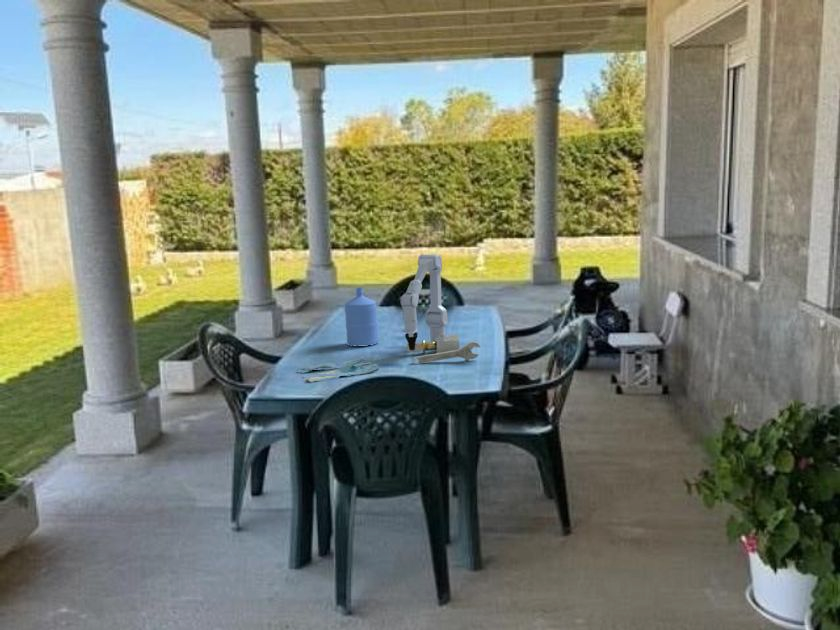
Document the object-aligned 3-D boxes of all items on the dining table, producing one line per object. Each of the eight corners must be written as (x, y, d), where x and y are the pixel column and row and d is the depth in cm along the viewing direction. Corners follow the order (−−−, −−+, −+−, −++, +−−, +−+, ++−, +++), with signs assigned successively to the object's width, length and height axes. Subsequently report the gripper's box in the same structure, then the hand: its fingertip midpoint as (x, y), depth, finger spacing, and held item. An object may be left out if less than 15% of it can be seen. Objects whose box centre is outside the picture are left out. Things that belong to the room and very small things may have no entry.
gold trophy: (407, 352, 353) (407, 339, 352) (438, 351, 353) (437, 337, 352) (407, 355, 347) (406, 341, 346) (438, 354, 347) (437, 340, 345)
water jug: (374, 347, 370) (370, 290, 366) (343, 347, 374) (339, 290, 369) (382, 340, 386) (378, 285, 381) (352, 341, 389) (348, 286, 384)
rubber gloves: (292, 370, 334) (291, 356, 333) (363, 360, 346) (362, 346, 345) (309, 384, 309) (308, 369, 308) (385, 372, 321) (384, 357, 320)
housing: (436, 350, 357) (435, 335, 355) (458, 348, 357) (457, 334, 355) (437, 356, 343) (436, 341, 342) (459, 355, 343) (458, 340, 342)
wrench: (414, 369, 334) (482, 358, 333) (414, 370, 332) (482, 359, 331) (410, 352, 332) (479, 340, 332) (410, 353, 331) (479, 341, 330)
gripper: (402, 317, 354) (403, 346, 357) (401, 323, 340) (403, 353, 342) (417, 317, 354) (418, 345, 357) (417, 322, 340) (418, 352, 342)
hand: (412, 349), depth 349 cm, fingers closed on gold trophy, 2 cm apart
